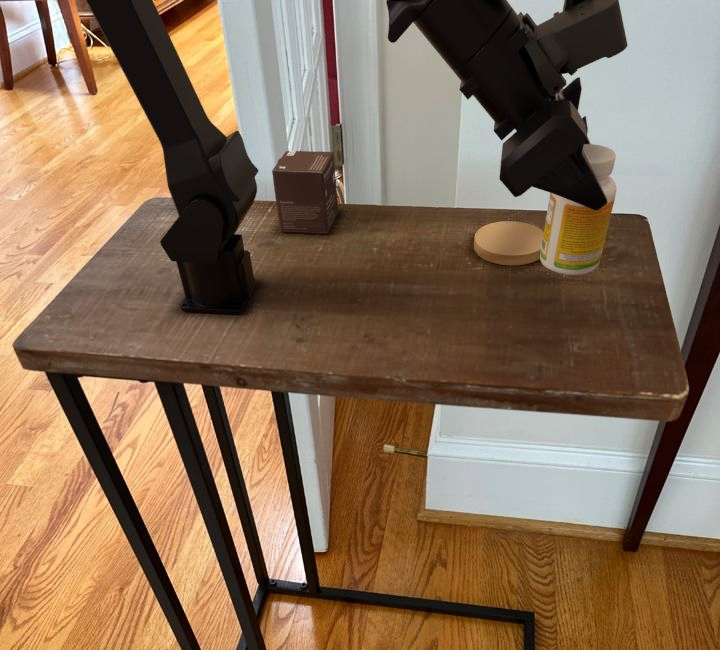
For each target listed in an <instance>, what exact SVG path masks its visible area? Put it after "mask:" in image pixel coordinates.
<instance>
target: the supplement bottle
mask: <svg viewBox="0 0 720 650" xmlns="http://www.w3.org/2000/svg"><path fill="white" fill-rule="evenodd" d="M583 151H584V153H585V155H586V157H587V159H588V161H589V163H590V165H591V167H592V169H593V171H594V173H595V175H596V177H597V179H598V181H599V183H600V185H601V187H602V189H603V191H604V194H605V196H606V198H607V204H606V205H605V206H603V207H602V208H600V209H599V210H593V209H591V208H588V207H586V206H583V205H581V204H578V203H576V202H573V201H571V200H568V199H566V198H563V197H560V196H558V195H555V194H553V193H550V192H549V197H548V198H549V199H548V205H547V211H546V215H545V222H544V229H543V231H544V234H543V240H542V245H541V252H540V259H539V261H540V262H541V264H542V265H543V266H544V267H545V268H546V269H547V270H549V271H551V272H554V273H557V274H560V275H567V276H581V275H585V274H589V273H592V272H593V271H594V270H596V269H597V268H598V266H599V265H600V263H601V259H602V255H603V251H604V247H605V242H606V238H607V235H608V234H607V233H608V229H609V224H610V221H611V217H612V212H613V208H614V203H615V200H616V196H617V184H616V182H615V180H614V178H612V177H611V174H612V173H613V170H614V167H615V162H616V157H617V154H616V151H614V150H613V149H612V148H610V147H608V146H604V145H600V144H594V143H593V144H592V143H591V144H584V146H583Z"/></svg>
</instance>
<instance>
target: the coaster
mask: <svg viewBox="0 0 720 650" xmlns="http://www.w3.org/2000/svg"><path fill="white" fill-rule="evenodd" d="M543 234H544V229H541V228H540V227H538V226H536V225H533V224H532V223H531V224H530V223H526V222H522V221H516V220H515V221H514V220H505V221H496V222H491V223H489V224H486V225H484V226H482V227H480V228H479V229H477V231H476V232H475V234H474V239H473V250H474V252H475V254H476V255H477V256H479V258H480V259H482V260H485V261H487V262H489V263H491V264H497V265H502V266H524V265H528V264H531V263H534V262H537V261H540V252H541V245H542V240H543Z"/></svg>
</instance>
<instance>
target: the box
mask: <svg viewBox="0 0 720 650" xmlns="http://www.w3.org/2000/svg"><path fill="white" fill-rule="evenodd" d="M334 152H335V151H313V150H312V151H309V150H308V151H306V150H286V151H285V152H284V153H283V155H282V156H281V157H280V158H279V159H278V160H277V163H276V164H275V166H274V167H273V169H272V170H271V173H272V182H273V189H274V197H275V205H276V212H277V218H278V226H279V228H278V229H279V231H280V232H283V233H284V232H285V233H306V234H328V233H329V231H330V230H331V228H332V226H333V224H334V222H335V220H336V218H337V215H338V214H339V205H338V192H337V179H336V178H337V177H336V165H335V153H334Z"/></svg>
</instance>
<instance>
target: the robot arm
mask: <svg viewBox="0 0 720 650" xmlns="http://www.w3.org/2000/svg"><path fill="white" fill-rule="evenodd" d="M85 2H86V4H87V6H88V8H89V10H90V12H91V14H92V15H93V17H94V19H95V21H96V23H97V25H98V26H99V28H100V30H101V32H102V34H103V37H104V38H105V40H106V43H107V45H108V46H109V48H110V50H111V52H112V53H113V55H114V57H115V59H116V61H117V63H118V64H119V67H120V69H121V71H122V73H123V74H124V76H125V78H126V80H127V82H128V85H130V87H131V89H132V91H133V93H134V95H135V97H136V99H137V101H138V103H139V105H140V107H141V109H142V110H143V112H144V114H145V117H146V118H147V120H148V122H149V124H150V127H151V128H152V130H153V132H154V134H155V135H156V137H157V139H158V141H159V143H160V146H161V149H162V153H163V160H164V168H165V175H166V183H167V184H166V185H167V189H168V191H169V193H170V194H169V195H170V196H171V200H172V201H173V204H174V208H175V210H176V213H177V215H178V217H177V218H176V219H175V220H174V222H173V223H172V224H171V226H170V228H169V229H168V230H167V231H166V233H165V234H164V235H163V237H162V238H161V239H160V241H159V245H160V246H161V247H162V249H163V251H164V252H165V254H166V255H167V257H168V258H169V260H170V261H171V262H174V263H175V262H176V266H177V271H178V274H179V278H180V281H181V286H182V289H183V292H184V298H183V300H182V301H181V303H180V305H179V308H180V310H181V311H182V312H194V313H213V314H233V315H234V314H235V315H237V314H240V313H242V312H243V310H244V308H245V306H246V304H247V302H248V300H249V299H250V298H251V296H252V294H253V292H254V290H255V288H256V284H257V280H256V278H255V275H254V269H253V263H252V257H251V252H250V251H249V250H246V249H245V244H244V239H243V234H240V233H238V234H237V231H238V229H239V228H240V226H241V225H242V223H243V221H244V219H245V218H246V216H247V214H248V213H249V211H250V210H251V208H252V207H253V205H254V202H255V200H256V197H257V194H258V184H257V180H256V176H257V174H258V173H259V169H258V167H257V166H256V165H255V164H254V163H253V162H252V160H251V159H250V157H249V155H248V152H247V149H246V145H245V142H244V139H243V136H242V134H241V132H240V131H239V130H235V131H232V133H229V134H228V135H225V134H224V133H223V132H222V131H221V130H220V129H219V128H218V127H217V126H216V125H215V124H214V123H212V121H211V119H209V116H208V115H207V113H206V111H205V109H204V106H203V105H202V102H201V101H200V98H199V96H198V94H197V92H196V90H195V87H194V85H193V83H192V81H191V79H190V76H189V75H188V73H187V70H186V68H185V65H184V64H183V61H182V60H181V58H180V55H179V53H178V51H177V49H176V47H175V45H174V42H173V40H172V38H171V36H170V35H169V34H170V33H169V32H168V30H167V27H166V26H165V23H164V21H163V19H162V17H161V16H160V13H159V11H158V8H157V6H156V5H155V2H154V1H153V0H85ZM385 4H386V7H387V12H388V31H387V40H388V41H389V42H390V43H391V44H394V43H396V42H397V41H398V40H399V39H400V38H401V37H402V36H403V34H404V33H405V32H406V31H407V30H408V29H409V28H410V27H411V26H412V24H414V25H415V27H416V28H417V29H418V30H419V31H420V33H421V34H422V35H423V37H425V39H426V40H427V41H428V43H429V44H430V45H431V46H432V47H433V48H434V50H435V51H436V52H437V53H438V54H439V56H440V57H441V58H442V60H443V61H444V62H445V63H446V64H447V66H448V67H449V68H450V69H451V70H452V72H453V73H454V74H455V76H456V77H457V78H458V79H459V81H460V85H459V92H461V94H462V95H463V96H464V97H465V98H466V100H469V99H471V98H472V97H474V99H475V100H476V101H477V102H478V103H479V105H480V106H481V107H482V109H484V111H485V112H486V113H487V114H488V116H489V117H490V119H492V121H493V122H494V125H493V132H494V133H495V135H496V136H497V137H498V138H499V140H500V141H503V140H504V139H506V137H507V136H509V135H510V134H511V133H512V132H513V131H515V132H514V133H513V134H512V135H511V136H509V137H508V138H507V139H506V140H505V141H503V143H502V145H501V146H502V147H501V155H500V156H501V158H500V166H499V181H500V182H501V183H502V184H503V185H504V187H505V188H506V189H507V190H508V191H509V192H510V194H511V195H512V196H513V197H514V198H517V197H520V196H522V195H524V194H525V193H526V192H528V190H530V189H531V188H535V189H538V190H540V191H544V192H547V193H549V194H550V193H553V194H555V195H558V196H560V197H563V198H566V199H568V200H571V201H573V202H576V203H578V204H581V205H583V206H586V207H588V208H591V209H593V210H599V209H600V208H602V207H603V206H605V205H606V204H607V198H606V196H605V194H604V191H603V189H602V187H601V185H600V183H599V181H598V179H597V177H596V175H595V173H594V171H593V169H592V167H591V165H590V163H589V161H588V159H587V157H586V155H585V153H584V151H583V146H584V144H592V143H591V142H590V139H589V137H588V133H589V128H588V119H587V116H586V115H584V116H583V117H582V116H581V114H580V113H579V108H580V102H581V101H580V100H581V97H582V96H581V95H582V90H583V89H582V81H581V77H579V76H577V77H576V78H574V79H573V80H572V81H571V82H570V83H568V84H567V79H566V78H565V77H564V75H566V74H568V75H569V76H570V77H572V76H573V75H575V74H576V73H577V72H578V70H579V69H581V68H583V67H586V66H589V65H590V64H593V63H595V62H597V61H599V60H602V59H603V58H606V59H610V58H613V57H615V56H618V55H619V54H620V53H622V52H623V51H625V50H626V49H627V48H628V39H627V35H626V29H625V24H624V20H623V16H622V10H621V5H620V1H619V0H564V1H563V7H562V11H560V12H559V11H556V12H554V13H553V14H552V15H553V16H552V17H550V18H548V19H547V20H545V21H543V22H541V23H539V24H536V22H535V20H534V19H533V18H532V17H531V15H530V14H529V13H528V12H526V13H523V12H522V11H520V12H519V13H517V12H516V10H515V9H514V8H513V7H512V6H511V4H510V2H509V1H508V0H386V3H385Z"/></svg>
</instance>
